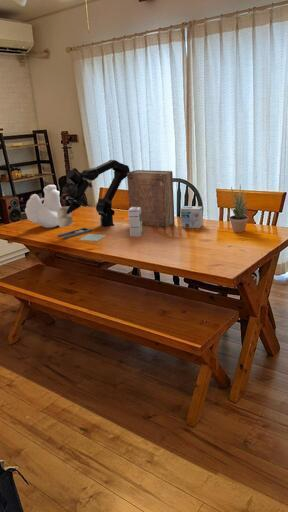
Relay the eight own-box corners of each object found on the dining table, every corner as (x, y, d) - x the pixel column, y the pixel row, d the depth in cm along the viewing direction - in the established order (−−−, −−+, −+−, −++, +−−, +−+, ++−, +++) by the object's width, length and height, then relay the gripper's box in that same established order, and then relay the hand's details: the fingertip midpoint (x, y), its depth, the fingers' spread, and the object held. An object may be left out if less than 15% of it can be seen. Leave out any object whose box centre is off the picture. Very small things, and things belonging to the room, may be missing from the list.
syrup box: (140, 236, 213) (139, 209, 209) (129, 236, 215) (127, 209, 210) (143, 233, 219) (141, 206, 214) (132, 233, 220) (130, 207, 215)
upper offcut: (81, 231, 230) (80, 230, 229) (84, 232, 228) (84, 230, 227) (74, 233, 227) (74, 231, 227) (78, 234, 225) (77, 232, 224)
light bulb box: (180, 227, 225) (180, 208, 222) (184, 224, 231) (183, 205, 227) (199, 228, 221) (199, 208, 218) (202, 225, 227) (202, 206, 223)
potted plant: (227, 232, 210) (227, 184, 202) (232, 227, 217) (232, 181, 210) (246, 234, 205) (247, 184, 197) (251, 229, 213) (252, 181, 205)
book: (175, 224, 233) (172, 171, 223) (165, 228, 226) (162, 173, 216) (140, 220, 248) (137, 170, 238) (130, 223, 241) (126, 172, 232)
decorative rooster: (58, 221, 259) (52, 182, 251) (70, 225, 247) (65, 184, 239) (20, 229, 244) (13, 188, 236) (32, 234, 232) (25, 190, 225)
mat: (88, 234, 223) (88, 234, 223) (106, 235, 219) (106, 235, 219) (78, 240, 213) (78, 239, 213) (97, 241, 209) (96, 240, 209)
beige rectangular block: (70, 223, 223) (67, 205, 220) (73, 224, 221) (70, 206, 218) (59, 226, 219) (56, 208, 216) (62, 227, 217) (59, 208, 214)
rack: (85, 230, 233) (84, 227, 233) (92, 231, 228) (91, 229, 228) (57, 237, 222) (57, 234, 221) (64, 239, 217) (64, 236, 216)
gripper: (60, 179, 223) (45, 203, 219) (80, 181, 210) (64, 206, 206) (74, 191, 230) (60, 214, 227) (94, 194, 217) (79, 218, 214)
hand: (65, 213), depth 218 cm, fingers closed on beige rectangular block, 3 cm apart
